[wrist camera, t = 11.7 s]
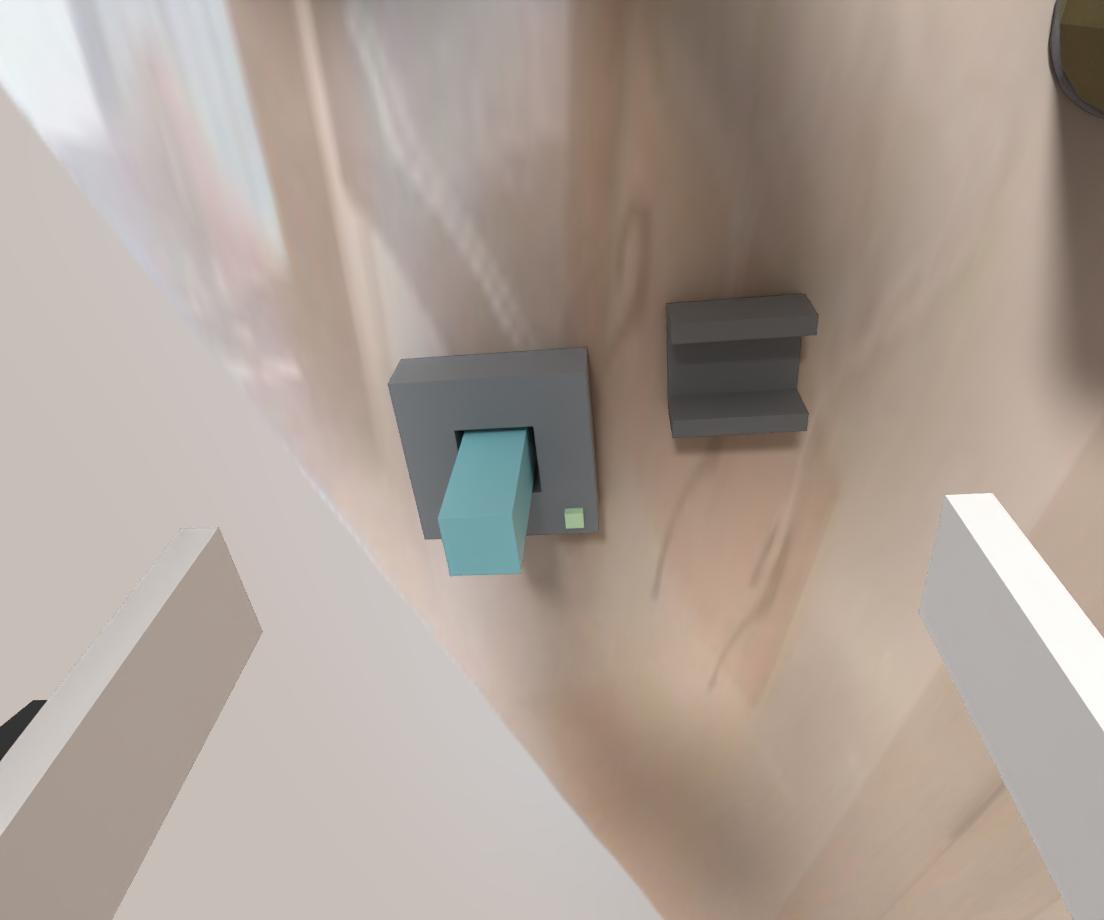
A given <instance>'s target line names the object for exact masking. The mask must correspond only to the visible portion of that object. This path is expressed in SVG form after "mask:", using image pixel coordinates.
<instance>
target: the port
mask: <svg viewBox="0 0 1104 920" xmlns="http://www.w3.org/2000/svg"><path fill="white" fill-rule="evenodd" d="M388 387H389V391H390V395H391V400H392V404H393V408H394V412H395V416H396V421H397V425H398V429H399V433H400V437H401V442H402V446H403V450H404V454H405V458H406V463H407V467H408V471H409V475H410V479H411V484H412V488H413V492H414V496H415V500H416V505H417V509H418V513H419V517H420V521H421V526H422V530H423V534H424V538H425V540H426V539H442V536H441V532H440V527H439V523H438V516H439V513H440V510H441V506H442V503H443V500H444V497H445V493H446V490H447V487H448V484H449V480H450V477H451V474H452V471H453V467H454V464H455V461H456V458H457V454H458V451H459V448H460V445H461V442H462V438H463V435H464V432H465V430H474V429H492V428H510V427H528V426H533V427H534V435H535V443H536V451H537V459H538V464H536V467H535V475H534V482H533V489H532V496H531V503H530V511H529V518H528V525H527V532H526V535H548V534H572V533H597V532H599V499H598V486H597V473H596V460H595V447H594V434H593V421H592V408H591V395H590V382H589V369H588V356H587V347H581V348H566V349H551V350H535V351H520V352H505V353H490V354H475V355H460V356H444V357H429V358H414V359H401V360H400V362H399V364H398V366H397V368H396V369H395V371H394V373H393V375H392V377H391V379H390V381H389V383H388Z"/></svg>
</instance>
